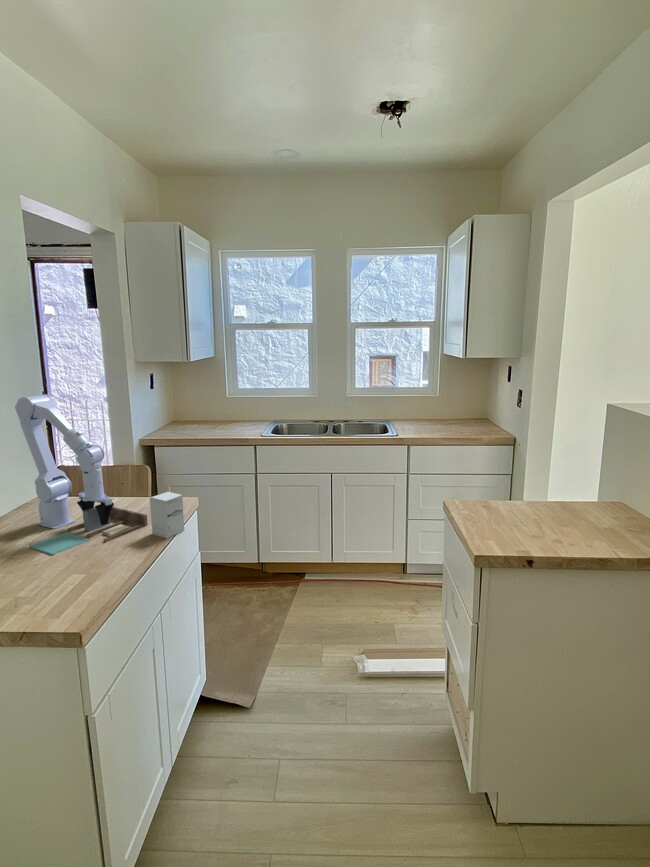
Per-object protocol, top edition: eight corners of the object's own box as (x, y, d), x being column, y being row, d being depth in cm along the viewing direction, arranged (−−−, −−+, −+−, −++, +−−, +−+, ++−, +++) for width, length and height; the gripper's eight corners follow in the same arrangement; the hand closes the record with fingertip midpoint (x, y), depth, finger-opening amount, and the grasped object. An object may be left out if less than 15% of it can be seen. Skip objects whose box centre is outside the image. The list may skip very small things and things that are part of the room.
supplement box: (167, 539, 150) (164, 500, 148) (151, 534, 154) (148, 497, 152) (185, 531, 157) (183, 494, 154) (170, 527, 160) (167, 490, 158)
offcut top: (102, 534, 154) (102, 531, 154) (120, 527, 160) (120, 524, 160) (111, 536, 152) (111, 533, 152) (129, 529, 158) (129, 526, 158)
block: (84, 531, 158) (82, 511, 156) (106, 523, 164) (104, 504, 163) (89, 532, 156) (87, 512, 155) (110, 524, 163) (108, 505, 162)
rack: (68, 532, 157) (66, 520, 156) (110, 516, 171) (109, 505, 170) (105, 543, 148) (104, 531, 147) (147, 526, 162) (146, 514, 161)
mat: (29, 547, 145) (29, 545, 145) (67, 533, 156) (66, 532, 156) (53, 555, 140) (52, 553, 140) (90, 540, 150) (90, 539, 150)
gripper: (68, 483, 158) (72, 522, 160) (96, 489, 151) (100, 530, 153) (87, 477, 164) (91, 515, 166) (115, 483, 157) (119, 522, 159)
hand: (97, 522), depth 160 cm, fingers open, 7 cm apart
